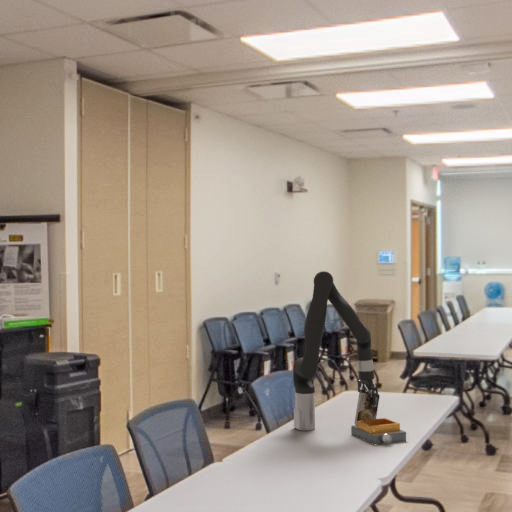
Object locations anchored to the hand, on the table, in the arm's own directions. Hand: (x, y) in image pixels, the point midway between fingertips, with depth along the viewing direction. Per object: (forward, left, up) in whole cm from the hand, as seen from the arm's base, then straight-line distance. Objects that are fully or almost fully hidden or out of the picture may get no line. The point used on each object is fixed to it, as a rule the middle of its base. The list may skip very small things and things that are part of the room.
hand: (368, 403), depth 351 cm
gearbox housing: (-6, -19, -12) cm, 23 cm away
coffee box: (-2, +1, -11) cm, 11 cm away
